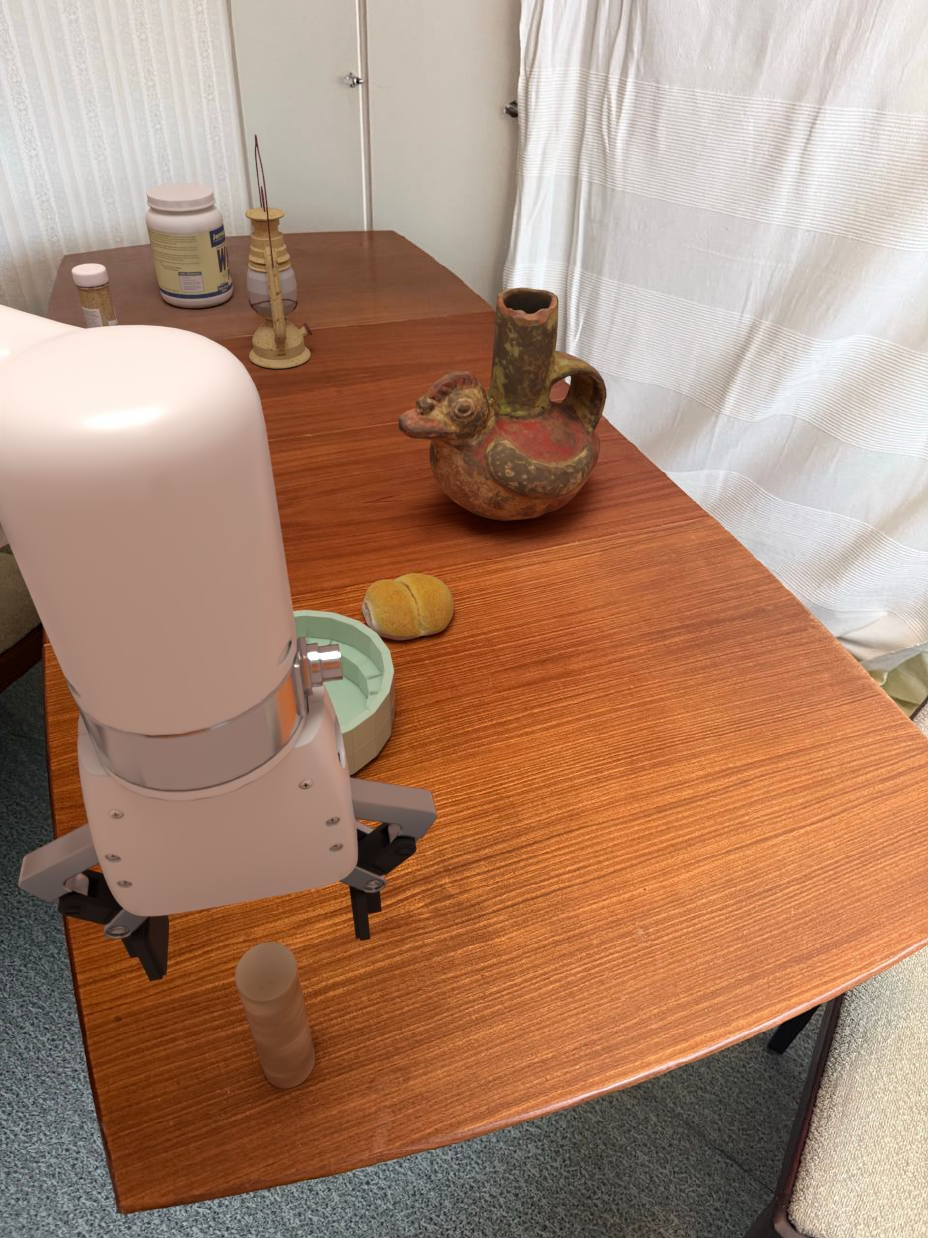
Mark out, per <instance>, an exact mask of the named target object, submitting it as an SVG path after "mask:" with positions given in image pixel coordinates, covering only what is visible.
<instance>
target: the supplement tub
mask: <svg viewBox="0 0 928 1238" xmlns="http://www.w3.org/2000/svg"><path fill="white" fill-rule="evenodd" d="M214 195H215V194H214V190H213V189H212V188H211V187H210V186H207V185H204V184H199V183H192V182H191V183H189V182H175V183H173V182H172V183H164V184H160V185H156V186H152V187H151V188H149V189H147V191H146V204H147V206H148V207H149V208H148V210H147V211H146V212H145V226H146V230H147V234H148V239H149V245H150V249H151V254H152V259H153V260H152V261H153V264H154V268H155V274H156V278H157V279H156V280H157V284H158V288H159V293H160V296H161V297H162V299H163V300H164V301H165V302H167V304H170V305H172V306H175V307H179V308H185V309H205V308H211V307H215V306H218V305H221V304H223V303H225V302H227V301H228V300H229V299H230V298H231V297H232V295H233V290H234V289H233V288H234V286H233V279H232V274H231V266H230V259H229V252H228V245H227V237H226V231H225V224H224V218H223V213H222V212H221V210H220V209H219V208H218V207H217V206H216V205H215V204H216V198H215V196H214Z"/></svg>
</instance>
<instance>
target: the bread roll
mask: <svg viewBox="0 0 928 1238" xmlns="http://www.w3.org/2000/svg"><path fill="white" fill-rule="evenodd" d="M365 590H366V591H365V592H364V595H365V596H364V597H363V602H362V605H361V610H362V614H363V617H364V620H365V624H367V627H369V628H370V629H372V630H373V631H375V632H376V633H377V634H378V635H379V637H380V638H384V639H389V640H394V641H405V640H406V641H407V640H413V639H416V638H419V637H423V636H424V637H425V636H432V635H435V634H438V633H441V632H442V631H444V630H445V629H446V628H447V627H448V625H449V624H450V622H451V620H452V618H453V616H454V615H453V614H454V610H455V600H454V597H453V595H452V592H451V590H450V589H449V587H448V586H447V584H445V583H444V581H442V580H441V579H440V578H437V577H436V576H432V575H430V574H424V573H419V572H418V573H415V572H410V573H407V574H403V575H401V576H399V577H397V578H394V579H387V578H386V579H379V580H376V581H374V582H373V583H372V584H371V585H369V587H368V588H367V589H365Z"/></svg>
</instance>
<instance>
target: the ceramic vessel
mask: <svg viewBox="0 0 928 1238" xmlns="http://www.w3.org/2000/svg"><path fill="white" fill-rule="evenodd" d="M495 307H496V308H495V318H494V319H495V320H494V335H493V336H494V337H493V348H492V360H491V372H490V380H489V381H490V382H489V389H488V392H487V393H486V391H485V388H484V387H483V385H482V384H481V383H480V381H479V380H478V378H477V377H476V376H475V374H473V373H472V372H470V371H469V370H468V371H467V370H455V371H451V372H448V373H446V374H444V375H443V376H442V377H439V378H438V379H437V380H436V381H435V382H434V383H433V384H431V385H430V387H429V389H428V390H427V392H426V393H425V394H424V395H421V396H420V397H419V398H418V399H417V400H416V401H415V407H414V408H411V409H409V410H406V411H404V412H402V413H401V415H400V416H399V417H398V418H397V422H398V429H399V431H400V432H401V433H403V434H404V435H405V436H407V437H409V438H410V439H415V440H418V439H421V440H430V443H429V449H428V452H429V453H428V459H429V465H430V470H431V473H432V476H433V477H434V479H435V481H436V483H437V485H438V487H439V488H440V489H441V490H442V492H443V493H444V494H445V495H446V496H447V497H448V498H449V499H450V500H452V501H453V502H454V503H455V504H457V505H458V506H460V507H461V508H463V509H465V510H466V511H468V512H470V513H471V514H473V515H476V516H478V517H481V518H484V519H489V520H494V521H501V522H508V521H520V520H521V521H522V520H532V519H536V518H539V517H541V516H544V515H545V514H548V513H552V512H556V511H557V510H560V509H561V508H562V507H563V506H566V505H567V504H568V503H570V501H571V500H573V499H574V498H575V497H576V496H577V494H578V493H579V492H580V490H581V489H582V488H583V486H585V484H586V482H587V481H588V479H589V478H590V476H591V475H592V473H593V472H594V469H595V468H596V465H597V463H598V460H599V456H600V452H601V439H600V437H599V436H600V435H598V433H597V432H595V431H596V429H597V427H598V425H599V423H600V420H601V418H602V416H603V412H604V409H605V405H606V401H607V398H608V397H607V387H606V383H605V380H604V378H603V376H602V375H601V374H600V372H599V370H597V368H596V367H594V366H593V365H591V364H590V363H588V362H587V361H584V360H583V359H581V358H579V357H577V356H575V355H573V354H570V353H566V352H564V351H560V350H557V342H558V328H559V297H558V295H557V294H555V293H554V292H552V291H549V290H546V289H538V288H531V287H513V288H508V289H504V290H502V291H500V292H499V293H498V295H497V297H496V306H495ZM569 377H570V380H569V387H568V390H567V393H566V395H565V397H564V398H563V399H562V401H561V402H556V401H553V400H551V398H550V394H551V392H552V388H553V386H554V385H555V384H556V383H559V382H560V381H561V380H564V379H566V378H569Z"/></svg>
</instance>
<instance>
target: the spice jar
mask: <svg viewBox="0 0 928 1238" xmlns="http://www.w3.org/2000/svg"><path fill="white" fill-rule="evenodd" d="M71 275H72V279H73V283H74V284H75V287H76V289H77V292H78V297H79V301H80V303H81V304H80V307H81V310H82V313H83V317H84V321H85V324H86V329H87V328H96V327H106V326H118V325H120V324H119V319H118V316H117V312H116V308H115V305H114V302H113V298H112V297H113V296H112V293H111V290H110V285H109V284H110V282H109V280H110V278H109V274H108V271H107V268H106V266H105V265H103V264H99V263H82V264H78V265H76V266H74V267H72V268H71Z"/></svg>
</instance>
